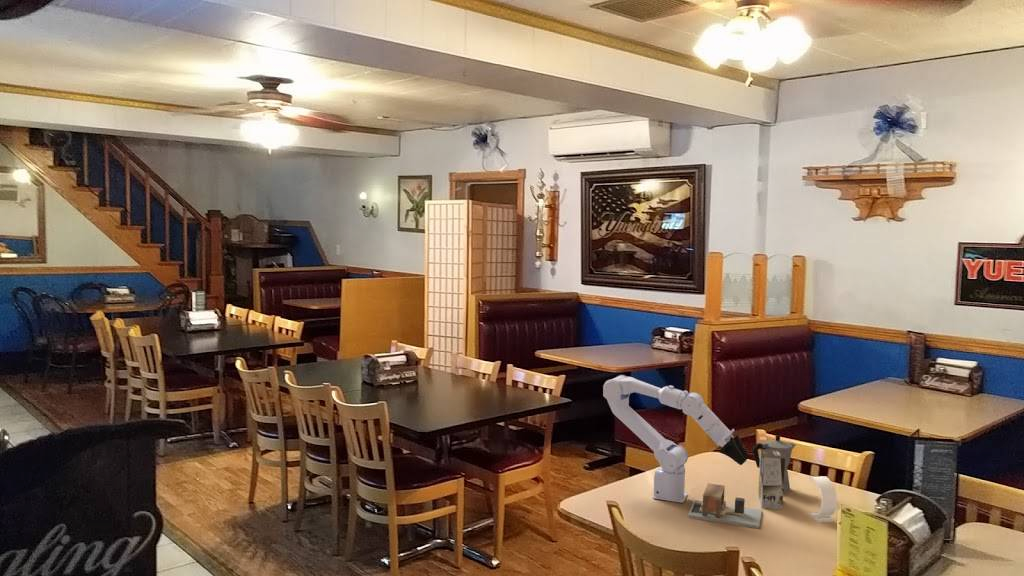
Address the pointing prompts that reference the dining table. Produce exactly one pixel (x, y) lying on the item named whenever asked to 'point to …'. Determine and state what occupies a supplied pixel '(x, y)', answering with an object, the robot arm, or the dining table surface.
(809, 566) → the dining table surface
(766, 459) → the coffee box
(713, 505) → the block
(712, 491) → the bridge
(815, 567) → the dining table surface
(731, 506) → the track board
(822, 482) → the headphone stand
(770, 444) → the coffeepot
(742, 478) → the dining table surface
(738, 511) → the sled
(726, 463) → the dining table surface
